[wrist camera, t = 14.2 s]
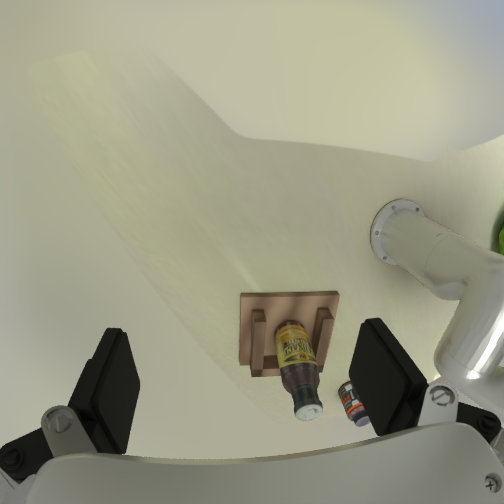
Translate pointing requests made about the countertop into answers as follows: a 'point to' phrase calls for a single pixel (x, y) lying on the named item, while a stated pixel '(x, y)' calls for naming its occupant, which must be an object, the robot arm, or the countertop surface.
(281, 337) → the sauce bottle
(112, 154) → the countertop surface
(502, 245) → the lettuce
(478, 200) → the countertop surface
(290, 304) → the bottle stand
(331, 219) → the countertop surface
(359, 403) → the supplement bottle
